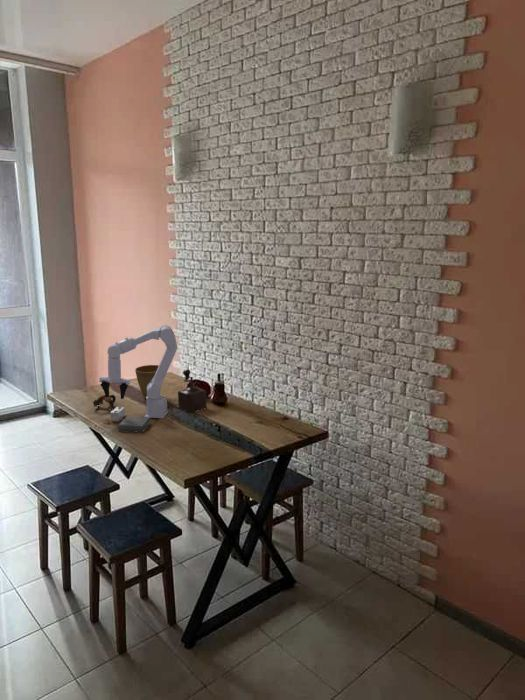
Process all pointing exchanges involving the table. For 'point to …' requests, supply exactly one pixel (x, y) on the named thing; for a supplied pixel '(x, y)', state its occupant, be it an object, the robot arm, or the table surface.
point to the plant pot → (145, 376)
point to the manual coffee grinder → (191, 396)
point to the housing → (117, 413)
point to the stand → (134, 424)
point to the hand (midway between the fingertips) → (114, 397)
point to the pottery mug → (108, 399)
